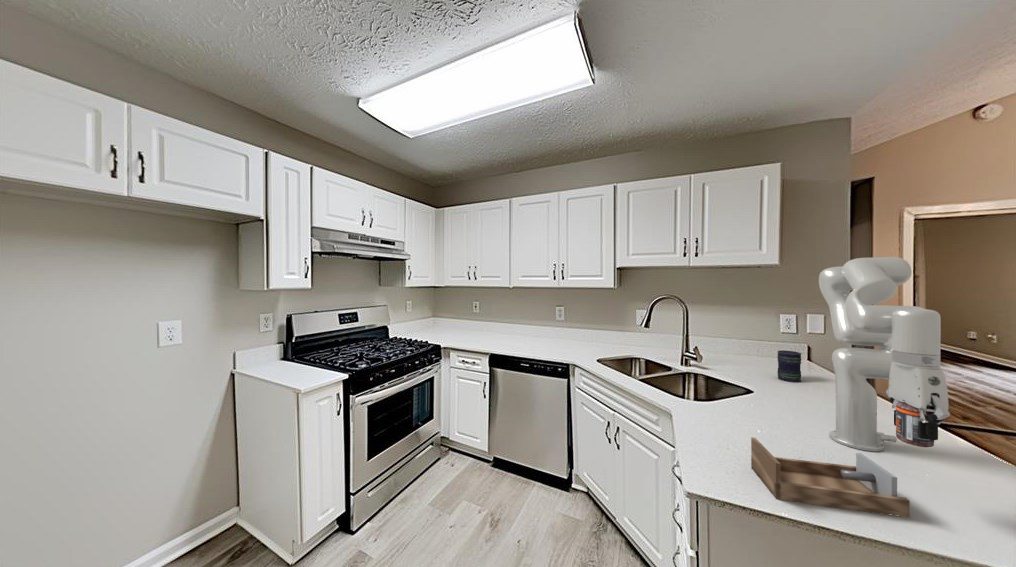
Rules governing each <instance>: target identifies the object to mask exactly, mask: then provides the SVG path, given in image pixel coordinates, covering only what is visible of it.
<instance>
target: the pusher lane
mask: <svg viewBox="0 0 1016 567" xmlns="http://www.w3.org/2000/svg"><path fill="white" fill-rule="evenodd" d="M750 440H751V443H750V444H751V445H750V447H751V448H750V449H751V450H750V451H751V452H750V453H751V454H750V456H751V457H750V459H751V460H750V461H751V462H750V464H751V466H750V467H751V470H752V471H753V472H754V473H755V474H756V476H757V477H758V478H759V480H761V483H763V484H764V486H765V487H766V489H767V490H768V491H769V492H770V493H771V495H773V497H774V498H775V500H782V501H789V502H790V501H791V502H796V503H803V504H811V505H815V506H824V507H830V508H839V509H845V510H850V511H858V510H859V511H860V512H865V511H866V513H872V512H873V514H879V513H883V514H882V515H886V514H892V515H891V516H893V515H899V516H898V517H900V516H905V517H904V518H907V517H910V516H911V513H910V512H911V511H910V509H911V508H910V505H911V503H910V502H911V501H910V499H908V498H907V497H902V496H897V497H896V496H888V495H880V494H875V493H874V492H872V491H871V490H870V489H869V488H867V487H866V486H865V485H864V484H862V483H861V482H860V481H858V480H850V479H844V478H843V477H842V476H841V470H847V471H855V472H856V466H855V465H846V464H838V463H832V462H831V463H830V462H820V461H819V462H818V461H814V460H811V461H810V460H803V459H795V458H794V459H793V458H786V457H777V456H774V455H773V454H772V453H771V452H770V451H769V450H768V449H767V448H766V447H765V446H764V445H763V443H761V442H760V441H759V440H758V438H756V437H750ZM910 518H911V517H910Z"/></svg>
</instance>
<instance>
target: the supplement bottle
mask: <svg viewBox="0 0 1016 567" xmlns="http://www.w3.org/2000/svg"><path fill="white" fill-rule="evenodd" d="M903 401H905V400H903ZM926 408H927V409H930V407H926ZM930 414H931V413H930V412H926V415H927V416H929V415H930ZM918 421H921V419H920V415H919V412H918V409H917V408H914V407H912V406H910V405H908V404H907V403H906V402H899V403H897V404H896V426H895V437H896V439H898V440H899V441H900V442H903V443H905V444H908V445H912V446H914V447H915V446H916V447H920V448H933V447H934V446H935V440H928V439H921V438H919V437H918Z"/></svg>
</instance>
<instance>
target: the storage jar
mask: <svg viewBox="0 0 1016 567" xmlns="http://www.w3.org/2000/svg"><path fill="white" fill-rule="evenodd" d="M776 357H777V379H778V380H779V381H782V382H787V383H794V384H795V383H797V384H798V383H802V380H801V379H802V370H801V365H802V353H801V352H798V351H793V350H784V349H783V350H777V356H776Z"/></svg>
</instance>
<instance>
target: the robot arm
mask: <svg viewBox="0 0 1016 567" xmlns="http://www.w3.org/2000/svg"><path fill="white" fill-rule="evenodd" d="M912 270H913V269H912V267H911V265H910V263H909V262H908V261H907V260H906V259H904V258H902V257H898V256H882V257H881V256H880V257H879V256H878V257H877V256H876V257H859V258H858V257H856V258H854V259H850V260H848V261H846V262H845V263H844V264H843V266H832V267H831V266H830V267H828V268H825V269H823V270H822V271H821V272H820V273H819V276H818V285H819V289H820V292H821V295H822V297H823V298H824V300H825V301H826V303H827V305H828V308H829V313H830V314H829V315H830V321H831V325H832V326H831V327H832V331H833V335H834V338H835V340H836V341H837V342H838V343H840V344H844V345H850V346H851V345H852V346H867V347H877V349H876V348H863V347H840V348H837V349H835V350H834V351H833V352H832V355H831V361H832V365H833V372H834V378H835V430H831V431H830V432H829V437H830V438H831V439H832V440H833V441H835V442H836V443H839V444H841V445H843V446H846V447H850V448H853V449H856V450H857V449H858V450H861V451H867V452H868V451H869V452H882V451H884V449H885V445H884V443H883V442H885V441H886V442H890V443H891V442H892V443H896V442H897V439H898V438H897V437H896V435H890V434H885V433H884V432H882V431H880V432H879V431H878V418H877V410H878V393H877V391H876V389H875V388H874V387H873V386H872V385H871V384H870V383H869V382H868V381H867V379H872V380H873V379H875V380H887V381H888V388H887V389H886V390H885V393H886V395H887V396H888V398H889V401H890V403H891V404H892V405H891V408H892V409H893V413H894V425H893V426H895V427H896V404H897V403H899V402H906V403H907V404H908V405H910V406H912V407H914V408H917V409H918V412H919V415H920V419H921V421H918V437H919V438H921V439H928V440H934V441H938V440H939V425H941V423H942V422H943V421H944V420H945V419H947V418H948V417H950V416H951V413H950V412H949V393H948V392H949V391H948V385H947V380H946V376H945V374H944V373H945V372H944V370H943V369H942V368H941V332H942V331H941V327H942V326H941V325H942V324H941V320H942V319H941V314H940V313H939V312H938V311H936V310H934V309H926V308H924V307H921V306H914V305H890V304H889V305H886V304H885V305H884V304H880V303H883V302H886V301H888V300H890V299H892V298H893V297H894V296H895V295H896V294H897V291H898V286H901V285H903V284H906V283H907V282H908V281H909V280H910V278H911V276H912V273H913V272H912ZM848 291H851V292H850V293H849V292H848ZM876 304H877V305H876ZM878 304H879V305H878ZM878 348H879V349H878ZM903 400H905V401H903ZM926 407H930V409H927V408H926ZM926 412H930V413H931V414H930V415H929V416H927V415H926Z"/></svg>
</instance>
